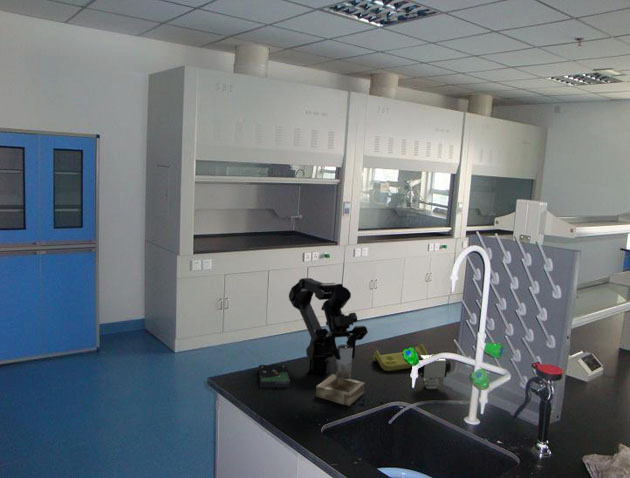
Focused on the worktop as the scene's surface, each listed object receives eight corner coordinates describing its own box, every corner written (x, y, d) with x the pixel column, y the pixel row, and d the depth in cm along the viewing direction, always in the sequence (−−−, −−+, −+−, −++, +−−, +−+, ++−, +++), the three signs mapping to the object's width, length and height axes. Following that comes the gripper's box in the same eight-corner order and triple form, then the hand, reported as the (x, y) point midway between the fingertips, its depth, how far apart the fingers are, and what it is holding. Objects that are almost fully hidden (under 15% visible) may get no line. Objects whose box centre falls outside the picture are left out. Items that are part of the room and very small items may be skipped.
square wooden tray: (315, 396, 167) (316, 385, 166) (332, 383, 177) (332, 373, 177) (349, 406, 161) (350, 395, 161) (364, 392, 172) (364, 382, 171)
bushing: (332, 374, 169) (334, 345, 168) (345, 372, 172) (347, 343, 170) (340, 380, 165) (342, 350, 164) (353, 378, 167) (355, 348, 166)
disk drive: (258, 372, 186) (259, 389, 171) (258, 364, 185) (260, 380, 171) (286, 371, 187) (290, 388, 173) (287, 364, 187) (291, 380, 172)
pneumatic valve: (448, 390, 178) (452, 357, 176) (416, 390, 176) (419, 357, 174) (442, 383, 183) (445, 351, 182) (411, 383, 181) (414, 351, 180)
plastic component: (384, 366, 190) (374, 347, 198) (381, 380, 194) (371, 360, 202) (432, 359, 196) (420, 341, 203) (427, 372, 200) (416, 354, 208)
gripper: (316, 305, 165) (328, 350, 156) (367, 302, 172) (381, 345, 164) (306, 321, 173) (316, 365, 165) (354, 318, 181) (367, 359, 172)
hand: (346, 358), depth 166 cm, fingers closed on bushing, 5 cm apart
